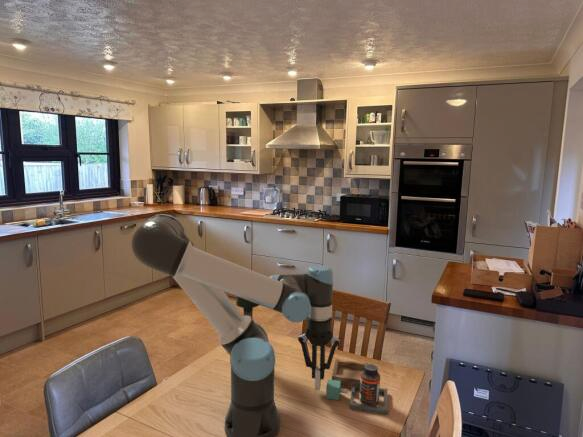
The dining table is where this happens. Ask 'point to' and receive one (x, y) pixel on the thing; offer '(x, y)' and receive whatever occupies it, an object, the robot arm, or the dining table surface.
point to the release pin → (334, 389)
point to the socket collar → (368, 407)
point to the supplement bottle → (369, 385)
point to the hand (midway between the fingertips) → (317, 387)
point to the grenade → (246, 305)
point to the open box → (348, 372)
